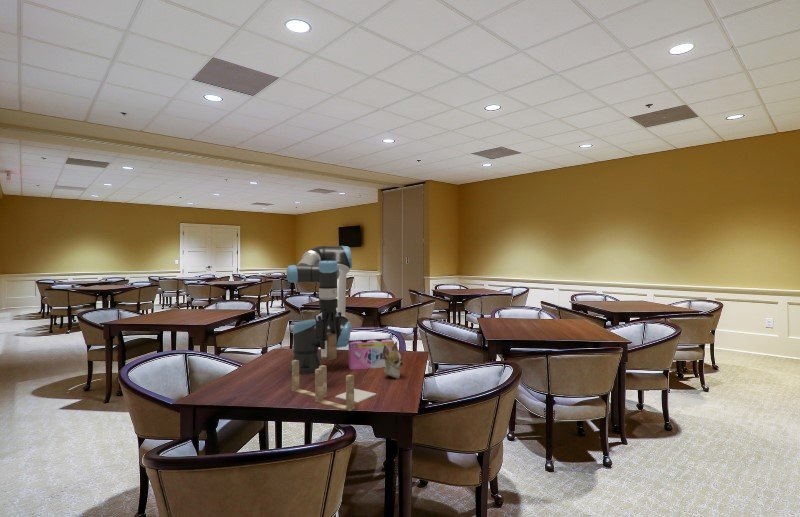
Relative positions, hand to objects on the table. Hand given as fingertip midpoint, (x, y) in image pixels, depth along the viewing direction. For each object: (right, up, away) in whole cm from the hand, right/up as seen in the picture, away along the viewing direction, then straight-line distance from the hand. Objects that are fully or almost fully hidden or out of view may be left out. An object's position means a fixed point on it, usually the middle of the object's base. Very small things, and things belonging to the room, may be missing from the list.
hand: (328, 355), depth 173 cm
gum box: (+16, -13, +32) cm, 38 cm away
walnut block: (0, -1, 0) cm, 1 cm away
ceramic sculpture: (+26, -13, +12) cm, 32 cm away
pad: (+12, -13, -12) cm, 22 cm away
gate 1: (-6, -13, -9) cm, 17 cm away
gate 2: (+6, -13, -22) cm, 26 cm away
